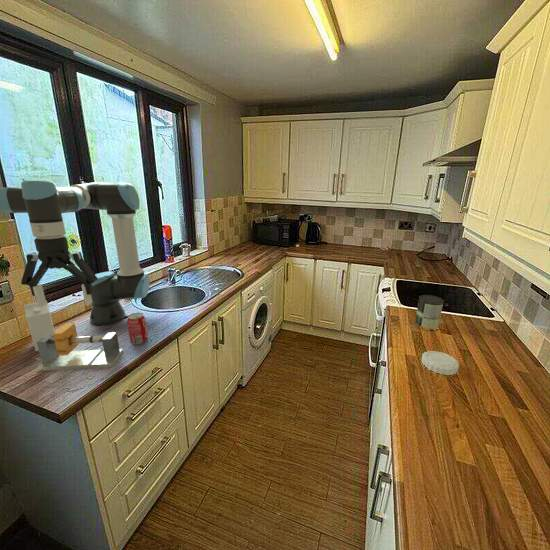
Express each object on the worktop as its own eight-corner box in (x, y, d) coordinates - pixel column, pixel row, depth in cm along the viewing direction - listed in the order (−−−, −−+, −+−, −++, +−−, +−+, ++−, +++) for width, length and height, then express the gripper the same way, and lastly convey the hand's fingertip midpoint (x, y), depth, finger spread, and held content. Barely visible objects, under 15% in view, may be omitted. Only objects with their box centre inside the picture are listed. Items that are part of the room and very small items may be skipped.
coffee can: (410, 324, 138) (414, 297, 134) (421, 319, 144) (426, 293, 140) (431, 333, 130) (436, 304, 126) (442, 327, 136) (448, 299, 131)
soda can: (143, 335, 126) (139, 310, 122) (151, 340, 122) (148, 315, 118) (127, 341, 121) (122, 316, 117) (135, 347, 116) (130, 321, 113)
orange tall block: (58, 355, 102) (52, 333, 99) (71, 344, 109) (66, 323, 106) (67, 355, 102) (61, 333, 99) (79, 343, 109) (74, 323, 107)
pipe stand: (38, 370, 101) (31, 345, 98) (56, 355, 111) (50, 331, 108) (111, 367, 104) (107, 342, 101) (123, 351, 113) (119, 328, 110)
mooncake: (454, 361, 109) (456, 353, 108) (460, 380, 99) (462, 371, 98) (419, 354, 113) (421, 346, 112) (422, 372, 103) (423, 363, 102)
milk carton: (35, 344, 118) (23, 302, 112) (56, 339, 122) (46, 298, 117) (35, 351, 113) (23, 308, 107) (57, 345, 117) (47, 303, 112)
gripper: (-8, 239, 77) (12, 311, 83) (89, 238, 80) (102, 308, 86) (13, 235, 84) (31, 301, 91) (102, 234, 87) (113, 298, 93)
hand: (65, 304), depth 88 cm, fingers open, 13 cm apart
